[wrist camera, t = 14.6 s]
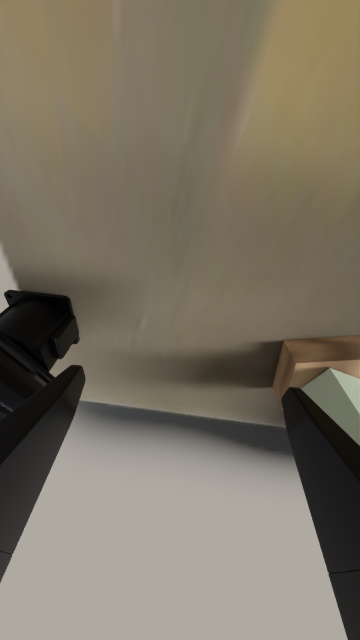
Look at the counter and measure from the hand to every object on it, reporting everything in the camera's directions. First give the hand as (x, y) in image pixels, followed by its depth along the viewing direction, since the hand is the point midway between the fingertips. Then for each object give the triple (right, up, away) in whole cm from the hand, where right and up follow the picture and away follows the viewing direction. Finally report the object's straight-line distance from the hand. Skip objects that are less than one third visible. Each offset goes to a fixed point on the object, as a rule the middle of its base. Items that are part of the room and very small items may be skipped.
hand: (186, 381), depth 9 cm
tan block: (+17, -3, +18) cm, 25 cm away
